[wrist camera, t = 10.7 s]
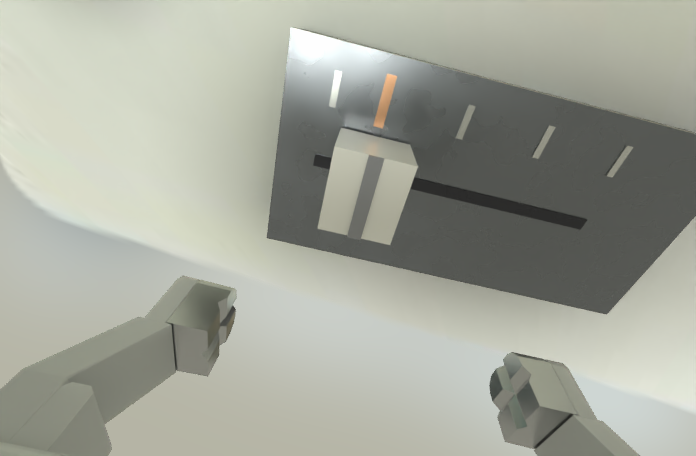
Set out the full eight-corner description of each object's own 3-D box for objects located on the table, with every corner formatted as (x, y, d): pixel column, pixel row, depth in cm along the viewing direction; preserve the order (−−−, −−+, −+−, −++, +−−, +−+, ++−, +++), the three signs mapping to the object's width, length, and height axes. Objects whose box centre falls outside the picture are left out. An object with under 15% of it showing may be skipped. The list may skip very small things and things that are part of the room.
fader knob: (410, 144, 20) (418, 167, 16) (387, 213, 22) (390, 247, 19) (341, 127, 20) (334, 147, 16) (325, 199, 22) (316, 230, 19)
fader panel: (709, 136, 22) (756, 150, 19) (585, 289, 29) (607, 315, 26) (301, 28, 20) (290, 27, 17) (276, 219, 27) (266, 238, 24)
